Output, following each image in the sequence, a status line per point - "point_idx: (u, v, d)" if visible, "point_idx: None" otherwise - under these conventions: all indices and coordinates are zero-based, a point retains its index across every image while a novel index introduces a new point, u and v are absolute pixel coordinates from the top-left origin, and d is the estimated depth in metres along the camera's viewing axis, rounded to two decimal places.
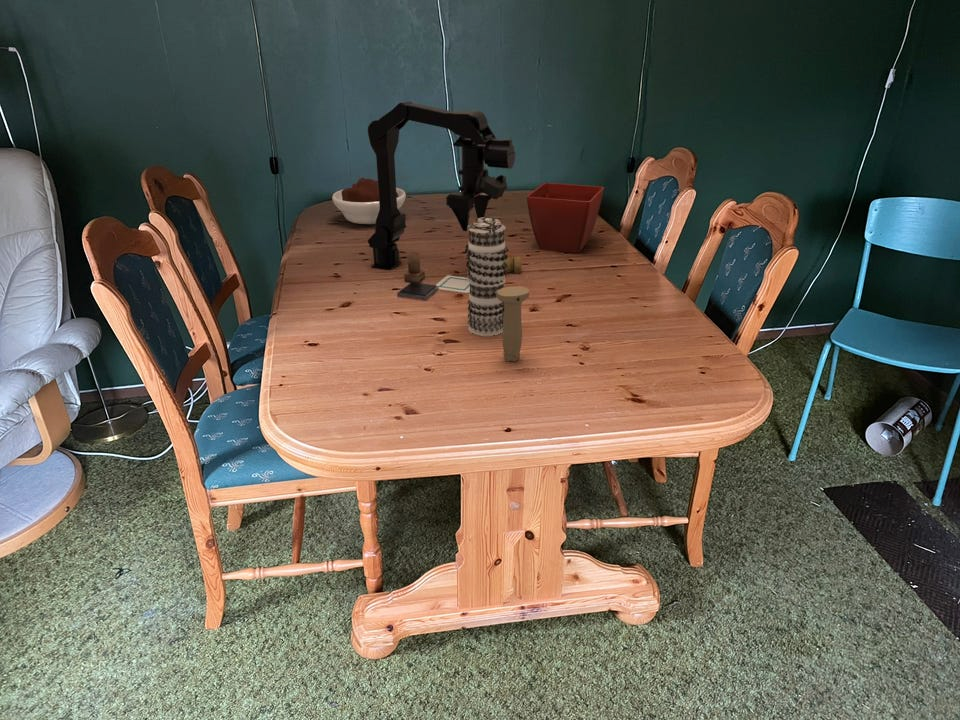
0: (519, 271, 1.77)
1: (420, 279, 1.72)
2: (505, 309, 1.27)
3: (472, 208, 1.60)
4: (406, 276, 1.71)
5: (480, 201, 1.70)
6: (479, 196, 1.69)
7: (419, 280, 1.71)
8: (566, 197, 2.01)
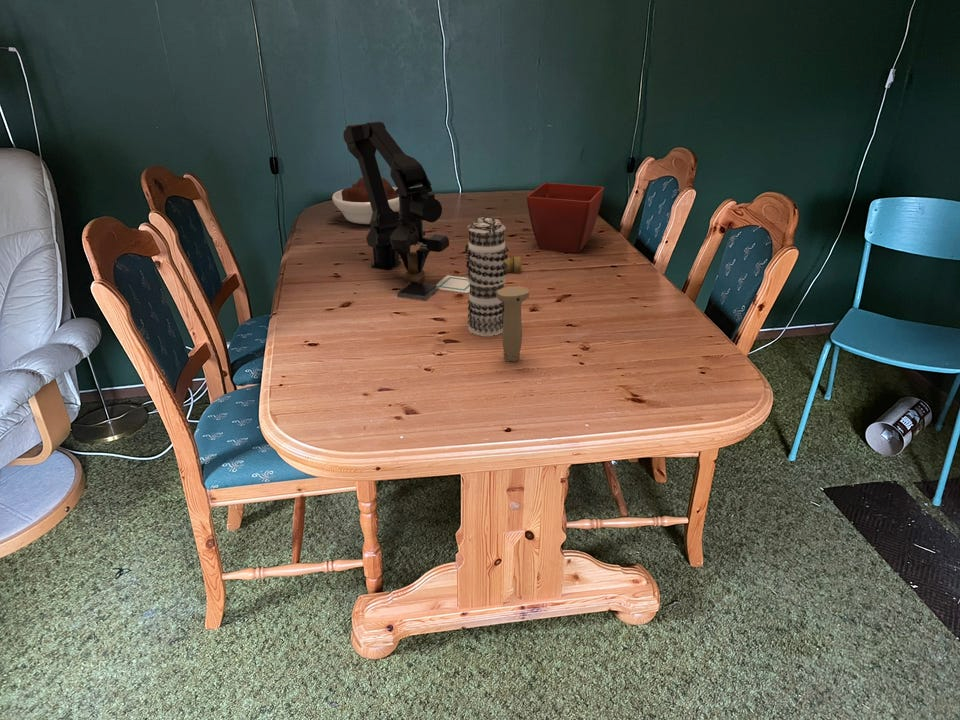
0: (519, 271, 1.77)
1: (420, 279, 1.72)
2: (505, 309, 1.27)
3: (400, 250, 1.68)
4: (406, 276, 1.71)
5: None
6: None
7: (419, 280, 1.71)
8: (566, 197, 2.01)
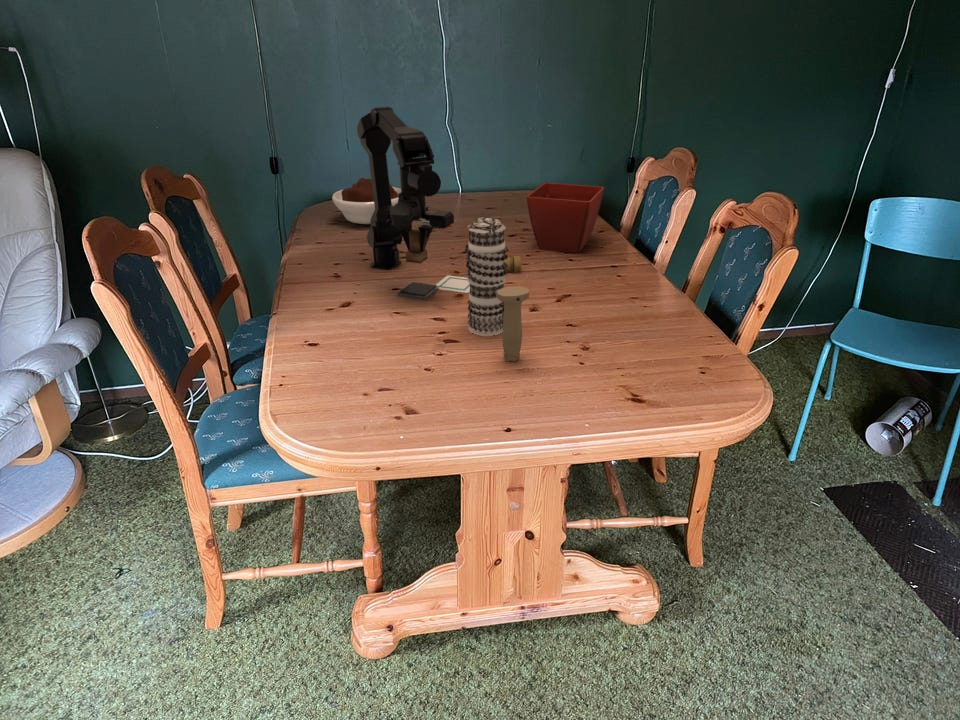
0: (519, 270, 1.77)
1: (422, 258, 1.60)
2: (505, 309, 1.27)
3: (401, 227, 1.56)
4: (407, 255, 1.59)
5: None
6: None
7: (421, 260, 1.59)
8: (566, 197, 2.01)
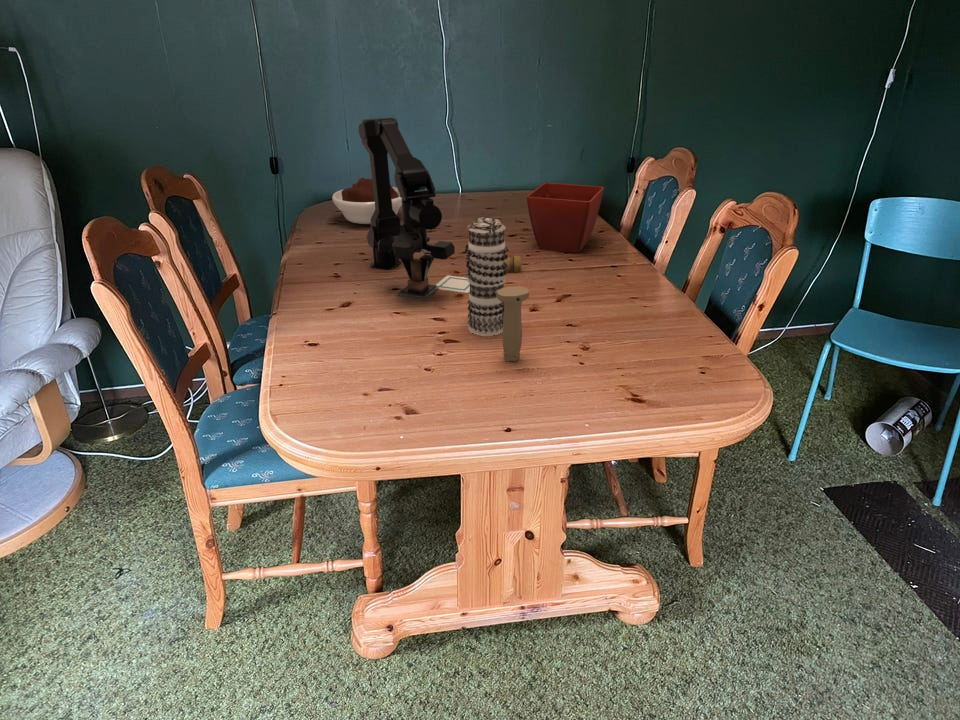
0: (519, 270, 1.77)
1: (424, 287, 1.63)
2: (505, 309, 1.27)
3: (403, 257, 1.59)
4: (409, 284, 1.63)
5: None
6: None
7: (423, 288, 1.63)
8: (566, 197, 2.01)
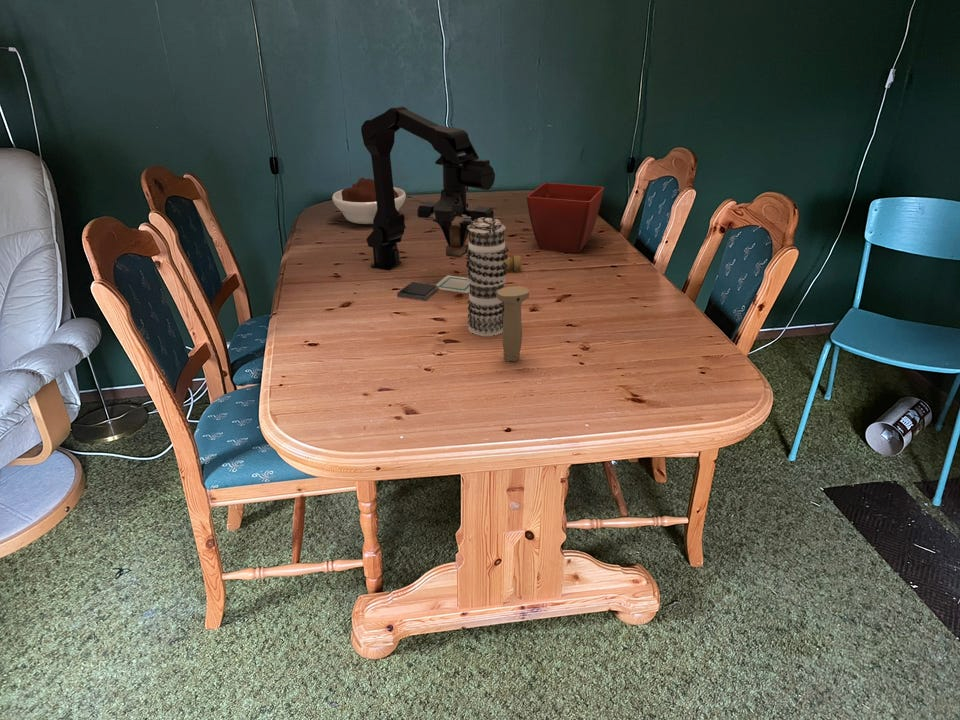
0: (519, 270, 1.78)
1: (462, 253, 1.65)
2: (505, 309, 1.27)
3: (442, 223, 1.61)
4: (447, 250, 1.64)
5: None
6: None
7: (461, 254, 1.64)
8: (566, 197, 2.01)
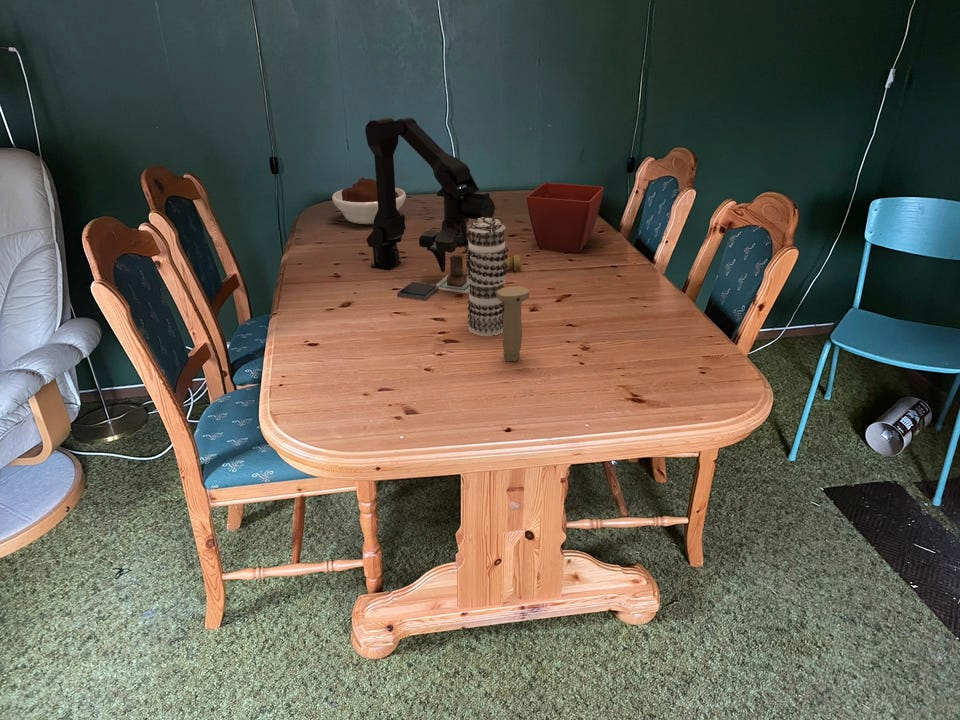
0: (519, 269, 1.78)
1: (463, 282, 1.69)
2: (505, 309, 1.27)
3: (436, 251, 1.65)
4: (448, 279, 1.68)
5: None
6: None
7: (462, 283, 1.68)
8: (566, 197, 2.01)
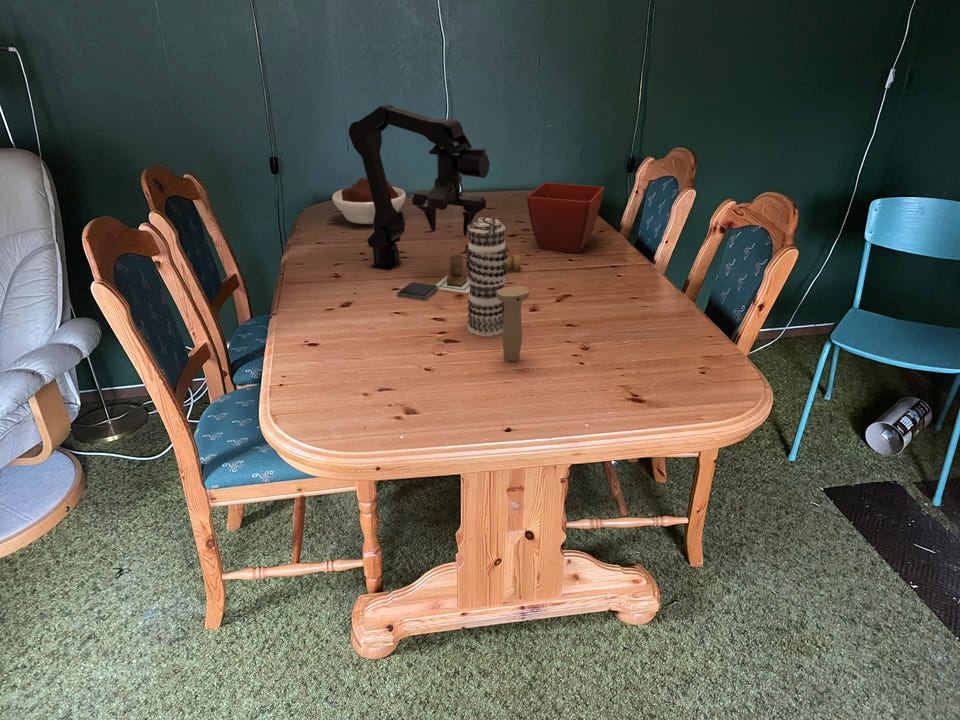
0: (518, 269, 1.78)
1: (463, 282, 1.69)
2: (505, 309, 1.27)
3: (426, 209, 1.67)
4: (448, 279, 1.68)
5: None
6: None
7: (462, 283, 1.68)
8: (566, 197, 2.01)
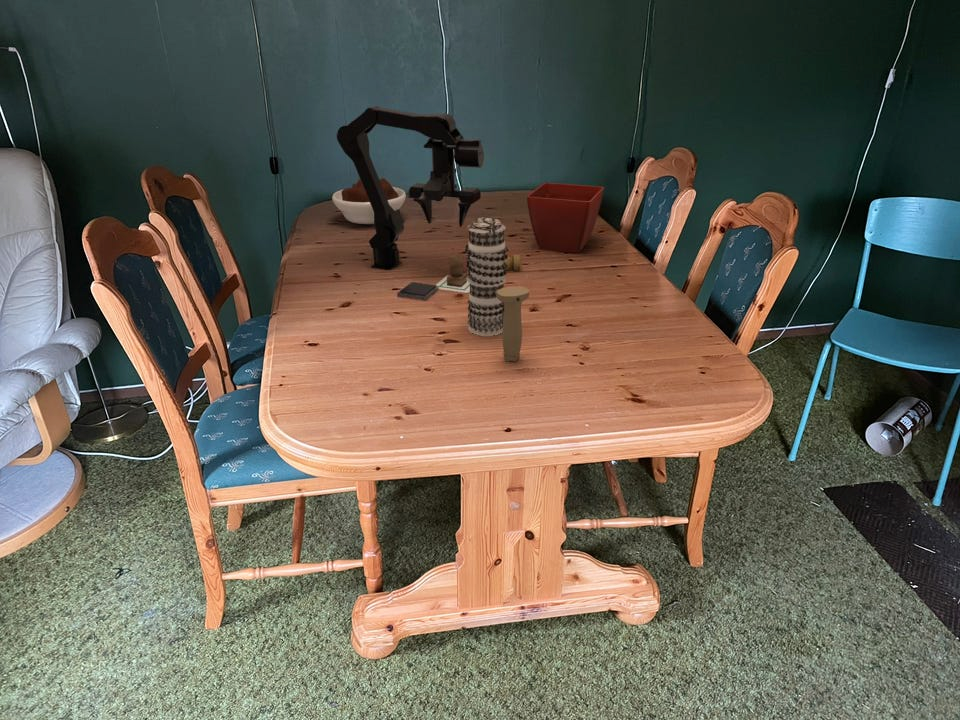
0: (518, 269, 1.78)
1: (463, 282, 1.69)
2: (505, 309, 1.27)
3: (422, 202, 1.71)
4: (448, 279, 1.68)
5: None
6: None
7: (462, 283, 1.68)
8: (566, 197, 2.01)
